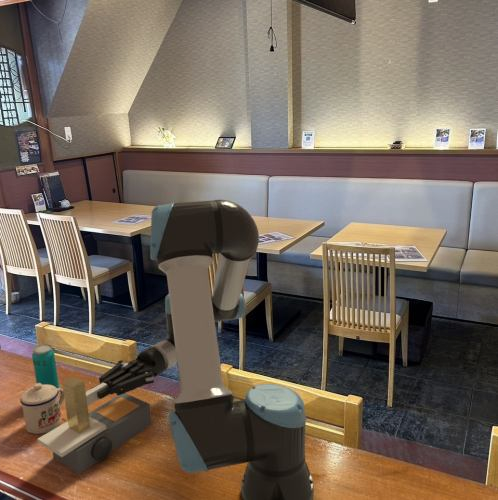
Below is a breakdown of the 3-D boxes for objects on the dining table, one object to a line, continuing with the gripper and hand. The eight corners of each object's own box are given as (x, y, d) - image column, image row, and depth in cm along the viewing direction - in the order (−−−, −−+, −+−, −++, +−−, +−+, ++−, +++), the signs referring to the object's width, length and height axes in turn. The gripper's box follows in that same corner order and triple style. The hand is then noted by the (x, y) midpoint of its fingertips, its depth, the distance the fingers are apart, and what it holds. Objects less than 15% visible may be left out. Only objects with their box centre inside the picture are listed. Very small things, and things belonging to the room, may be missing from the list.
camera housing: (125, 412, 136) (123, 392, 134) (155, 425, 130) (153, 405, 128) (53, 457, 119) (49, 435, 117) (83, 476, 113) (79, 452, 111)
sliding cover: (82, 416, 124) (75, 368, 120) (106, 428, 119) (100, 379, 115) (38, 442, 114) (29, 391, 111) (61, 457, 109) (53, 404, 106)
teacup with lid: (42, 439, 126) (35, 397, 123) (17, 429, 130) (10, 389, 127) (78, 413, 136) (72, 374, 133) (54, 405, 140) (48, 367, 137)
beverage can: (44, 390, 148) (36, 344, 144) (63, 390, 148) (56, 343, 144) (35, 401, 142) (27, 353, 138) (55, 401, 142) (48, 353, 138)
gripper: (175, 378, 133) (103, 424, 115) (141, 365, 141) (68, 406, 122) (173, 352, 131) (99, 395, 113) (139, 341, 139) (64, 378, 120)
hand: (83, 400), depth 118 cm, fingers closed
